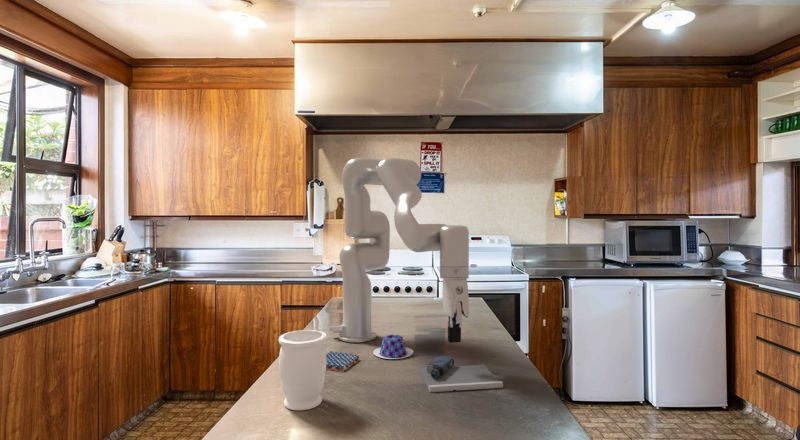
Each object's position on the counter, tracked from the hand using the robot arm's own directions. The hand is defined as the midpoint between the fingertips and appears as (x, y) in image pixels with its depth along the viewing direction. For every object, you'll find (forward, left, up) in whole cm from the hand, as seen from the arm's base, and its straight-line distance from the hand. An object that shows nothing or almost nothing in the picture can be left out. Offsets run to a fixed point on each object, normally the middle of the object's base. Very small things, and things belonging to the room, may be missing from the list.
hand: (454, 341), depth 115 cm
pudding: (-14, +17, -9) cm, 24 cm away
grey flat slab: (0, -4, -8) cm, 9 cm away
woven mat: (-31, +11, -9) cm, 34 cm away
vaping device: (-1, +4, -6) cm, 8 cm away
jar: (-38, -13, -8) cm, 41 cm away
